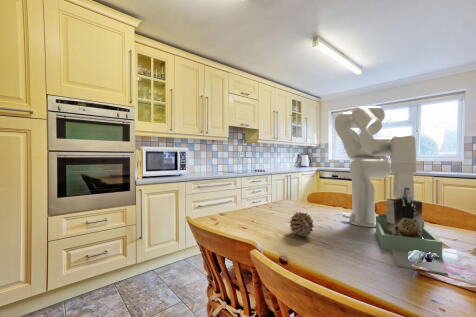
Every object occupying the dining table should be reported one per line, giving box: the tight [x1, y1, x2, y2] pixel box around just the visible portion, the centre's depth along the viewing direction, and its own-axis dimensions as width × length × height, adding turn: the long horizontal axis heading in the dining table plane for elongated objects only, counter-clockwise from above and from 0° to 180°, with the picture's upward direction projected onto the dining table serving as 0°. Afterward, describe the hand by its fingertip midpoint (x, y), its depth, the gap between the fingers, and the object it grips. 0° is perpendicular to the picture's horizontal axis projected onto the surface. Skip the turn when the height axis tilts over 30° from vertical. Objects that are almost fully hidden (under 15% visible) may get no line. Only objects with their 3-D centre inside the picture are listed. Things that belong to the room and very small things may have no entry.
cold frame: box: [375, 213, 443, 259], centre depth 82 cm, size 16×20×8 cm
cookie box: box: [386, 198, 423, 239], centre depth 82 cm, size 9×6×16 cm
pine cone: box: [289, 211, 315, 237], centre depth 94 cm, size 22×10×10 cm, turn 175°
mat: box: [390, 250, 449, 276], centre depth 67 cm, size 11×12×1 cm
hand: (404, 215), depth 82 cm, fingers open, 9 cm apart
